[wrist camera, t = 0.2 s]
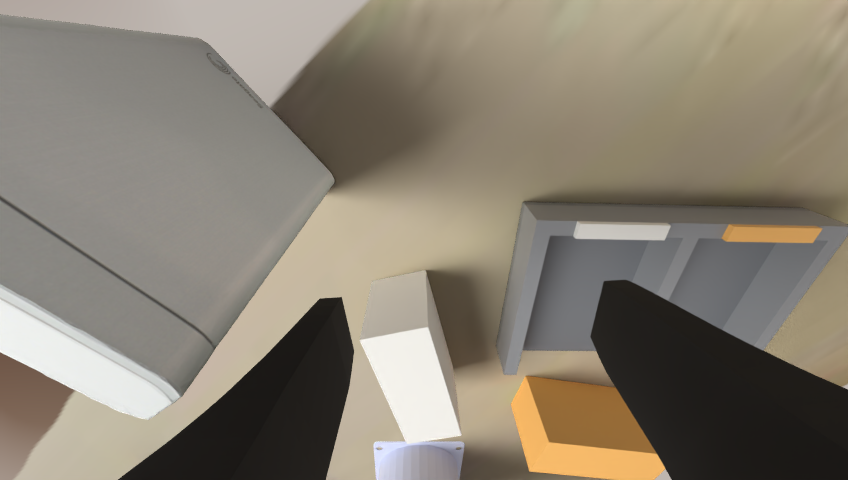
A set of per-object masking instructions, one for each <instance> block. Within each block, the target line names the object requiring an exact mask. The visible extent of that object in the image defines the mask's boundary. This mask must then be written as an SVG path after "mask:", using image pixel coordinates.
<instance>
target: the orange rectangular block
mask: <svg viewBox="0 0 848 480" xmlns="http://www.w3.org/2000/svg"><path fill="white" fill-rule="evenodd" d="M511 406H512V410H513V413H514V417H515V421H516V424H517V428H518V432H519V435H520V439H521V443H522V446H523V450H524V453H525V457H526V461H527V464H528V468H529V471H530V472H541V473H551V474H561V475H572V476H582V477H592V478H603V479H613V480H654V479H655V478H656V477H657V476H659V475H660V473H661V472H663V471H664V470H665V467H664V465H663V463H662V462H661V460H660V458H659V456H658V455H657V453H656V452H655V450H654V448H653V447H652V445H651V444H650V442H649V440H648V439H647V437H646V436H645V434H644V432H643V431H642V429H641V428H640V426H639V424H638V423H637V421H636V419H635V418H634V416H633V415H632V413H631V411H630V410H629V408H628V407H627V405H626V403H625V402H624V400H623V399H622V397H621V395H620V394H619V392H618V390H617V389H616V388H615V387H608V386H600V385H593V384H585V383H577V382H570V381H562V380H554V379H547V378H539V377H532V376H525V378H524V380H523V382H522V384H521V386H520V388H519V390H518V392H517V393H516V395H515V397H514V399H513V401H512V403H511Z"/></svg>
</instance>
